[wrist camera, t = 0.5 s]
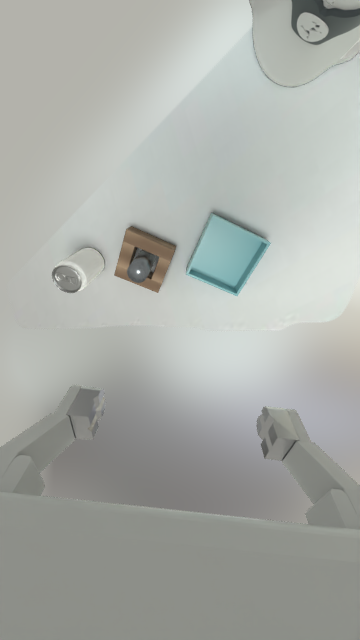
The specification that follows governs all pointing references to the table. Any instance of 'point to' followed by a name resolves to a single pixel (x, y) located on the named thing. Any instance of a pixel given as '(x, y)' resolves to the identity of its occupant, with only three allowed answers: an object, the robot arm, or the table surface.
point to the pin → (141, 266)
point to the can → (78, 270)
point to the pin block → (150, 245)
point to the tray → (226, 255)
